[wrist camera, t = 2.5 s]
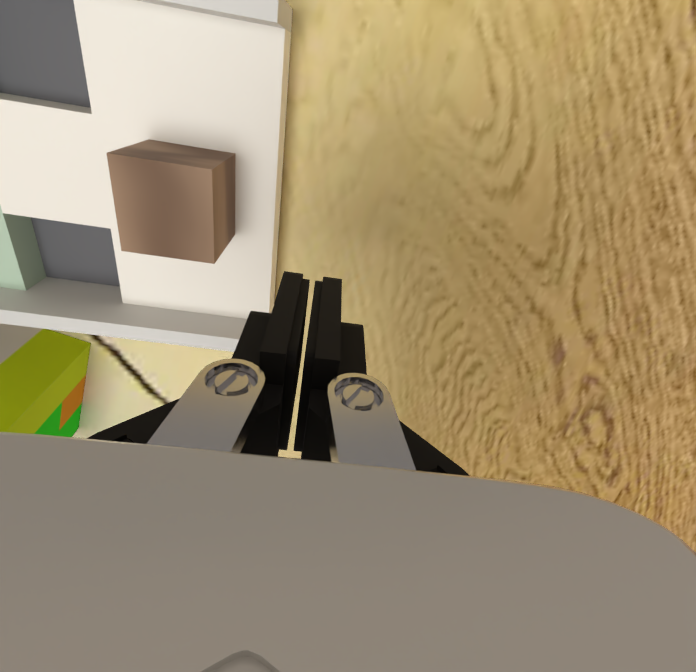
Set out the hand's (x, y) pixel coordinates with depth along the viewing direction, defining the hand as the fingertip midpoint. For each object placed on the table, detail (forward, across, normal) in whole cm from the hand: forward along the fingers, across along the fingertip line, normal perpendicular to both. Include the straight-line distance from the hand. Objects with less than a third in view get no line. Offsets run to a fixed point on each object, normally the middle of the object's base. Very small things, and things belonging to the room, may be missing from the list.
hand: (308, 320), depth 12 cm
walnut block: (+13, +7, +1) cm, 15 cm away
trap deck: (+16, +14, +1) cm, 21 cm away
